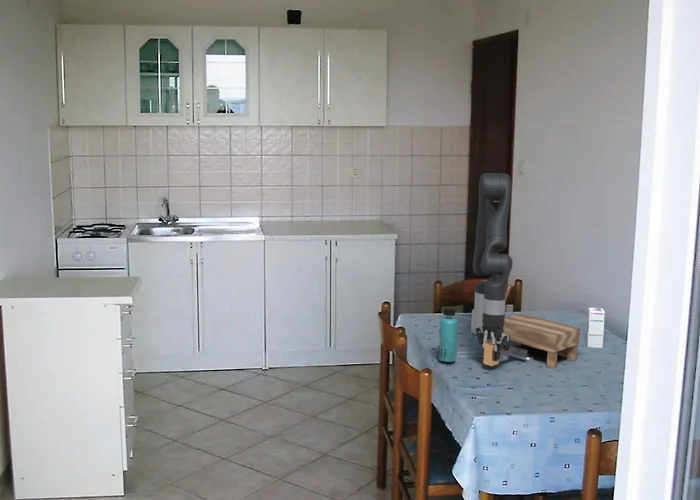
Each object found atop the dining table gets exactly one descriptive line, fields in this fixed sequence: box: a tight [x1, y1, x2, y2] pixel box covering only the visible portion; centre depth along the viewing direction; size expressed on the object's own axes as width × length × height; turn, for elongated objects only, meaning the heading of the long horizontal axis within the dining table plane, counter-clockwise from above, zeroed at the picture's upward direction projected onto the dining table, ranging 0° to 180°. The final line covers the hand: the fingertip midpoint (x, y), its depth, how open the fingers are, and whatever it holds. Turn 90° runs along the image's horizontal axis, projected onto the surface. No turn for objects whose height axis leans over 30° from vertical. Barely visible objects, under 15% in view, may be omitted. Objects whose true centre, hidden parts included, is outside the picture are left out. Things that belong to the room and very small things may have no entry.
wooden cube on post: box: [483, 341, 528, 367], centre depth 274 cm, size 18×7×8 cm, turn 132°
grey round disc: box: [521, 353, 535, 361], centre depth 284 cm, size 4×4×1 cm
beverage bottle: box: [438, 307, 459, 363], centre depth 275 cm, size 6×7×20 cm
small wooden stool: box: [500, 312, 581, 369], centre depth 286 cm, size 16×26×12 cm, turn 42°
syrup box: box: [585, 307, 606, 349], centre depth 300 cm, size 6×6×14 cm
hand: (491, 359), depth 270 cm, fingers closed on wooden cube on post, 3 cm apart
